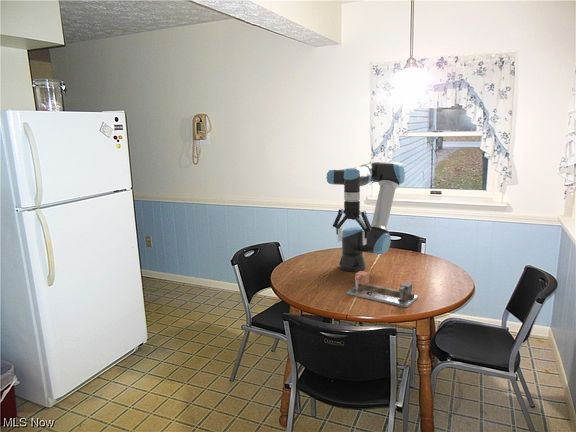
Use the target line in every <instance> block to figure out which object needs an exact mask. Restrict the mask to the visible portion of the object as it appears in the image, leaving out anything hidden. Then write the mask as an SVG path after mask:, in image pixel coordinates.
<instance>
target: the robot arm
mask: <svg viewBox="0 0 576 432" xmlns="http://www.w3.org/2000/svg"><path fill="white" fill-rule="evenodd" d="M405 174H406V173H405V168H404V165H403V164H402V163H401V162H390V161H389V162H387V161H385V162H384V161H383V162H382V161H379V162H378V161H376V162H375V161H374V162H370V163H365V164H361V165H359V166H357V167H350V168H344V169H330V170H328V171H327V174H326V182H327V183H328V184H330V185H336V186H337V185H339V186H343V188H344V189H343V191H344V192H343V195H344V196H343V200H344V202H343V208H344V209H343V208H339V209H338V211H337V216H336V218H335V220H334V222H333V224H332V227H333V228H335V230H336V231H335V232H336V235H337V242H338V243H339V242H341V249H342V250H341V254H342V255H341V257H340V260H339V263H338V267H339V269H340V270H341V271H346V272H352V273H353V272H359V271H364V270H366V268H367V264H366V261H365V257H364V253H368V254H374V255H384V254H386V253H387V252H388V250H389V249H390V246H391V243H392V242H391V240H392V238H391V235H390V234H389V230H388V224H389V219H390V215H391V214H390V213H391V211H392V205H393V200H394V196H395V192H396V190H397V189H399V187H400V184H404V182H405V178H406V175H405ZM370 182H371V183H373V182H374V183H378V185H379V190H378V195H377V199H376V203H375V207H374V212H373V217H372V220H371V224H370V221H369V219H368V216H367V212H366V210H363V211H361V210H360V208H361V205H360V204H361V202H360V199H361V194H360V192H361V189H360V188H361V187H363V186H366V185H368V184H370ZM343 214H344V216H343ZM361 217H362V218H361ZM341 218H342V219H341ZM347 220H353V221H354V220H355V221H356V222H357V223H358V225H359V226H353V227H347V228H344V229H343V230H342V226H343V224H344V223H345V222H346V221H347Z"/></svg>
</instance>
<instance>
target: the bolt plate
mask: <svg viewBox="0 0 576 432" xmlns="http://www.w3.org/2000/svg"><path fill="white" fill-rule="evenodd" d="M346 294H347V295H350V296H354V297H359V298H363V299H367V300H373V301H376V302H380V303H385V304H388V305H389V304H390V305H394V306H398V307H402V308H406V309H407V308H409V307H410V306H411V305H412V304H413V303H414V302H415V301H416V300H417V299H418V298H419V297H418V296H419V295H417V294H414V298H413V299H410V298H405V297H403V301H400V296H396V295H392V294H387V293H382V292H378V291H373V290H369V289H364V288H360V287H358V290H356V285H355V286H353V287H352V288H351V289H348V290H347V291H346Z"/></svg>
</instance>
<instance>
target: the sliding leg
mask: <svg viewBox="0 0 576 432" xmlns="http://www.w3.org/2000/svg"><path fill="white" fill-rule="evenodd" d="M354 280H355V286H356V290H358V284H361V285H366V284H367V283H368V284H370V272H368V271H364V270H362V271H356V273H355V277H354Z"/></svg>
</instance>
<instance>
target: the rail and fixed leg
mask: <svg viewBox="0 0 576 432" xmlns="http://www.w3.org/2000/svg"><path fill="white" fill-rule="evenodd" d="M358 287H360V288H364V289H369V290H373V291H378V292H382V293H387V294H392V295H396V296H400V301H403V297H405V298H410V299H413V298H414V295H416V293H415V292H413V283H411V282H407V281H403V283H401V284H400V288H399V289H396V288H392V287H387V286H381V285H377V284H371V283H367V284H366V285H361V284H358Z"/></svg>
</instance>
